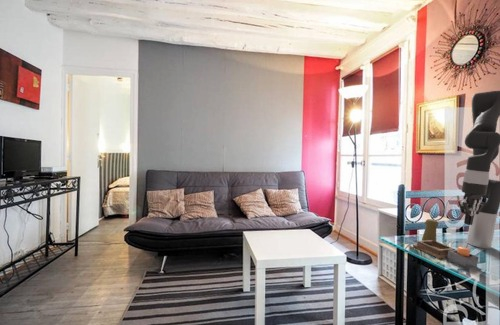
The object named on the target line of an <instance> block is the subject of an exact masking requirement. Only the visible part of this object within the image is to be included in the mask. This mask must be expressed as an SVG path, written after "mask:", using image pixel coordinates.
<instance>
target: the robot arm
mask: <svg viewBox="0 0 500 325" xmlns="http://www.w3.org/2000/svg"><path fill="white" fill-rule="evenodd" d="M471 116H472V129H471V130H470V131H469V132H468V133H467V134H466V136H465V139H464V145H465V146H466V147H467V148H468V149H472V155H469V156H468V157H467V161H466V167H465V172H464V175H463V181H462V187H461V192H462V193H464V195H463V197H462V200H459V201H457V204H458V207H459V209H460V212H461V214H463V215H464V222H463V223H464V225H468V226H469V227H468V233H467V237H466V238H467V239H466V243H467V244H468V245H471V246H474V247H477V248H480V249H484V250H485V249H486V250H488V249H489V250H490V249H492V247H491V246H493V239H494V235H495V230H496V229H495V228H496V222H497V216H498V212H499V209H500V180H495V179H491V178H490V171H491V166H492V163H493V162H494V161H495V159H496V158H497V157H498V156H499V152H500V133H499V132H497V127H498V126H497V125H498V120H499V118H500V90H491V91H485V92H476V93H474V94H473V95H472V96H471ZM483 198H485V199H487V200H486V201H485V202H483V201H482V199H483Z"/></svg>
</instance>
